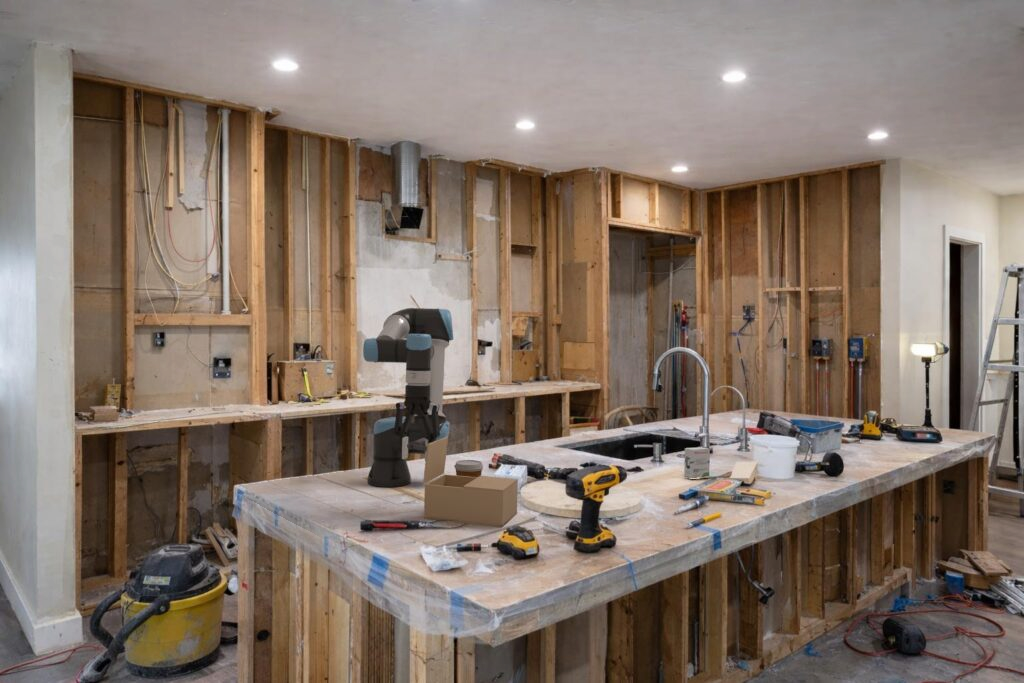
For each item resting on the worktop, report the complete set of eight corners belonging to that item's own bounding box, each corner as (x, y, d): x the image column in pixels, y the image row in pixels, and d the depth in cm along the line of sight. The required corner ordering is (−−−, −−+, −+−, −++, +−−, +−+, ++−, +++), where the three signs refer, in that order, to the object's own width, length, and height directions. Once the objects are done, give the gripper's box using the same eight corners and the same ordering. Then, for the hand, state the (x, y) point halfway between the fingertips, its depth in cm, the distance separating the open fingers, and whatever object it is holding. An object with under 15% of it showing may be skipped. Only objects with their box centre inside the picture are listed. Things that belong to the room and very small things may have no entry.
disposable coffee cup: (488, 498, 226) (489, 461, 226) (472, 504, 218) (472, 466, 218) (464, 493, 231) (465, 458, 231) (447, 499, 223) (448, 462, 222)
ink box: (701, 476, 269) (702, 446, 268) (709, 479, 264) (710, 448, 264) (683, 477, 265) (684, 447, 265) (691, 480, 261) (692, 449, 260)
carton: (443, 506, 214) (444, 472, 214) (516, 513, 208) (517, 479, 207) (424, 518, 200) (424, 482, 200) (502, 527, 193) (503, 489, 193)
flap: (444, 473, 214) (420, 468, 216) (448, 437, 214) (424, 432, 216) (424, 483, 200) (400, 478, 202) (429, 444, 199) (404, 439, 202)
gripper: (382, 383, 207) (381, 459, 208) (443, 386, 202) (441, 464, 202) (393, 382, 215) (392, 454, 215) (452, 385, 209) (451, 459, 209)
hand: (416, 459), depth 209 cm, fingers open, 7 cm apart
